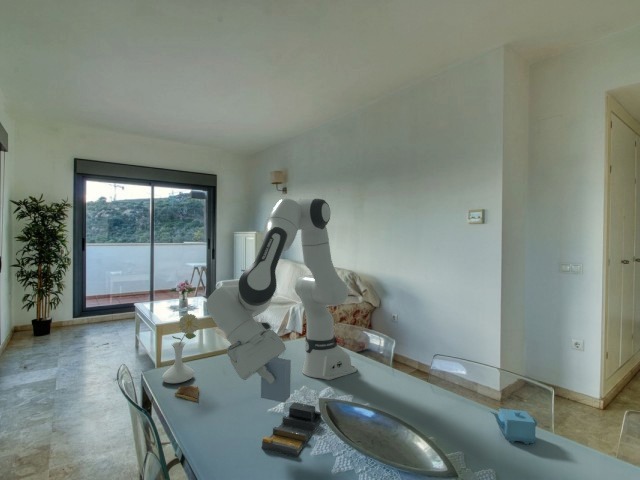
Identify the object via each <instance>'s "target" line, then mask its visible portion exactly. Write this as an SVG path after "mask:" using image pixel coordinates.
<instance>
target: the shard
mask: <svg viewBox="0 0 640 480" xmlns="http://www.w3.org/2000/svg"><path fill="white" fill-rule="evenodd" d="M199 390H200V389H199V386H198V385H184V386H183V385H182V386H179V387H178V389H177V391H176V392H175V393H174V396H175V397H178V398H183V399H185V400H189V401H192V402H198V401H199Z"/></svg>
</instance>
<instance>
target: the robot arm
mask: <svg viewBox="0 0 640 480" xmlns="http://www.w3.org/2000/svg"><path fill="white" fill-rule="evenodd" d="M330 220H331V208H330V205H329V203H328V202H327V201H326V200H325V199H323V198H313V199H312V198H310V199H309V198H307V199H299V200H294V199H292V198H282V199H280V200H278V201H277V202H276V203H275V204H274V206H273V208H272V209H271V211H270V213H269V214H268V217H267V219H266V221H265V224H264V226H263V229H262V235H261V242H262V243H261V245H260V246H261V247H260V248H259V251H258V254H257V256H256V258H255V260H254V262H253V263H252V264H251V265H250V266H248V268H247V269H246V270H244V271H243V273H242V274H241V275H240V278H239V280H238V285H220V286H218V287H216V288H215V289H214V290H213V291H212V292H210V294H209V296H208V298H207V299H206V303H205V307H206V310H207V312H208V314H209V315H210V317H211V319H212V320H213V322H214V324H216V326H217V327H218V328H219V329H221V330H222V332H223V333H224V334H225V335H224V336H225V337H226V339H227V340H228V342H229V343H230V345H229V346H228V347H227V350H226V351H227V352H226V354H227V356H228V358H229V361H230V363H231V366H232V367H233V369H234V370H235V373H236V374H237V375H238V378H240V379H241V380H243V381H246V380H248V379H250V378H251V377H252V376H253V375H255V374H258V376H260V378H261V377H263V378H265V379H266V380H267V381H268V382H269V383H270V384H271V383H272V382H274V381H275V380H276V376H275V375H274V374H273V373H272V374H271V373H270V372H268V371H267V370H266V369H267V368H266V367H265V364H267V363H268V361H270V360H271V359H272V358H274V357H275V358H279V357H280V356H281V355H282V354H283V353H284V352H285V351H286V349H287V347H286V343H284V342H283V340H282V338H280V336H279V335H278V333H277V332H276V331H275V330H273V329H272V328H273V327H272V324H270V323H269V322H267V321H265V322H264V321H256V320H255V317H256V316H259V315H260V314H262V313H264V312H265V311H267V310H268V308H269V306H270V304H271V301H272V298H273V296H274V295H275V292H276V289H277V277H276V270H277V266H278V263H279V261H280V258H281V255H282V253H283V252H286V251H288V250H289V249H290V248H291V246H292V245H293V243H294V241H295V239H296V236H297V233H298V231H299V230H300V238H301V241H300V242H301V250H302V256H303V257H302V258H303V263H304V266H305V267H306V268H307V269H309V271H310V273H311V274H307V275H302V276H300V277H298V278H297V280H296V282H295V287H294V291H295V293H296V295H297V296H298V298H299V300H300V301H301V303H302V306H303V309H304V314H305V318H306V319H305V321H306V336H305V340H304V341H305V342H304V348H305V356H304V363H303V366H302V369H301V371H302V373H303V374H304V375H305V376H307V377H309V378H315V379H323V380H327V381H331V380H334V379H338V378H340V377H344V376H347V375H351V374H353V373H356V372H357V371H358V370H357V367H356V365H355V364H354V363H352V360H351V357H350V354H349V353H348V352H347V351H346V350H344V348H342V347H341V346H339V345H340V344H342V342H343V340H342V338H340V337H336V336H335V335H334V331H335V330H334V328H335V327H334V324H335V323H334V322H335V318H334V317H333V315H332V314H331V312H330V311H329V310H328V308H327V306H331V307H332V306H340V305H343V304H344V303H345V302H346V301H347V299H348V296H349V288H348V285H347V284H346V282H345V281H343V280H342V278H341V277H340V276H339V274H338V272H337V271H336V269H335V266H334V263H333V259H332V255H331V249H330V247H331V246H330V238H329V233H328V229H327V225H328V224H329V221H330Z"/></svg>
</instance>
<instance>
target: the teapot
mask: <svg viewBox="0 0 640 480" xmlns="http://www.w3.org/2000/svg"><path fill="white" fill-rule="evenodd" d="M490 413H491V414H493V416H494V417H495V420H496V424H497V425H498V428H499V430H500V431H501V433H502V435H503V436H504V438H505V440H507V441H508V442H510V443H512V444H514V443H515V442H522V443H523V444H524V445H530V443H533V444H536V426H538V422H537V419H535V418H534V417H533V416H531V415H530V414H529V413H528V412H527V410H520V409H519V410H518V409H517V410H516V409H509V408H499V409H498V413H497V412H495V411H490Z"/></svg>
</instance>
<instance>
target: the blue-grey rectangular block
mask: <svg viewBox="0 0 640 480" xmlns="http://www.w3.org/2000/svg"><path fill="white" fill-rule="evenodd" d="M291 362H292V360H291V359H287V358H281V357H278V358H275V357H274V358H272V359H271V360H270V361H268V363H267V364H265V367H266V368H267V369H266V370H267V371H268V372H270V373H271V374H272V373H273V374H274V375H275V376H276V380H275V381H274V382H272V383H271V384H270V383H269V382H268V381H267V380H266V379H265V378H263V377H261V376H260V399H265V400H270V401H275V402H280V403H286V401H288V400H289V398H291V370H292V369H291V367H292V366H291V365H292V364H291Z"/></svg>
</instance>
